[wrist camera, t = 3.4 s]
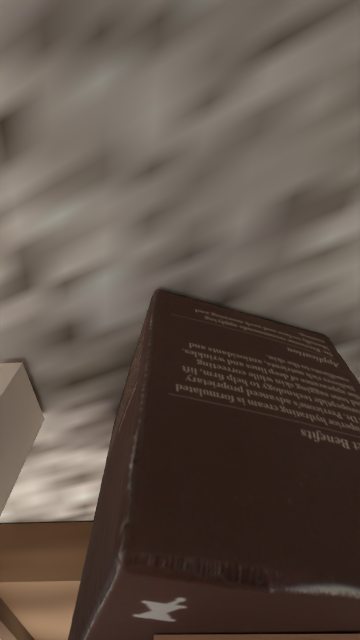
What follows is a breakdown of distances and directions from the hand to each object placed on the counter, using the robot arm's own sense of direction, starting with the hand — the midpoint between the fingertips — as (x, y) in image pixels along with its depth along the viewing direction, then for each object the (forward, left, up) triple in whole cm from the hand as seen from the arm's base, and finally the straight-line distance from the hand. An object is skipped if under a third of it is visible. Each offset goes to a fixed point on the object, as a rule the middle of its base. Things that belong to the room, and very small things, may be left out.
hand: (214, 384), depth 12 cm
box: (0, 0, 0) cm, 0 cm away
